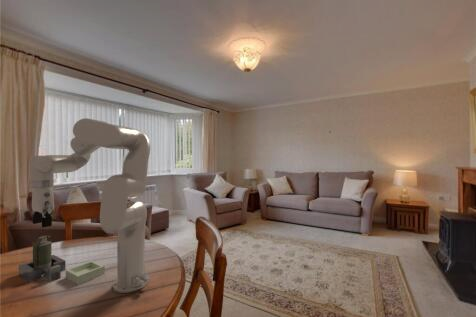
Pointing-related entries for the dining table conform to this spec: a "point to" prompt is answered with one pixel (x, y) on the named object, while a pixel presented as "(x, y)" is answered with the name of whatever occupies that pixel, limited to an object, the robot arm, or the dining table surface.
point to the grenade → (42, 253)
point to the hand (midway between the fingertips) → (42, 224)
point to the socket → (38, 269)
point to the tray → (85, 272)
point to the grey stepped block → (52, 273)
